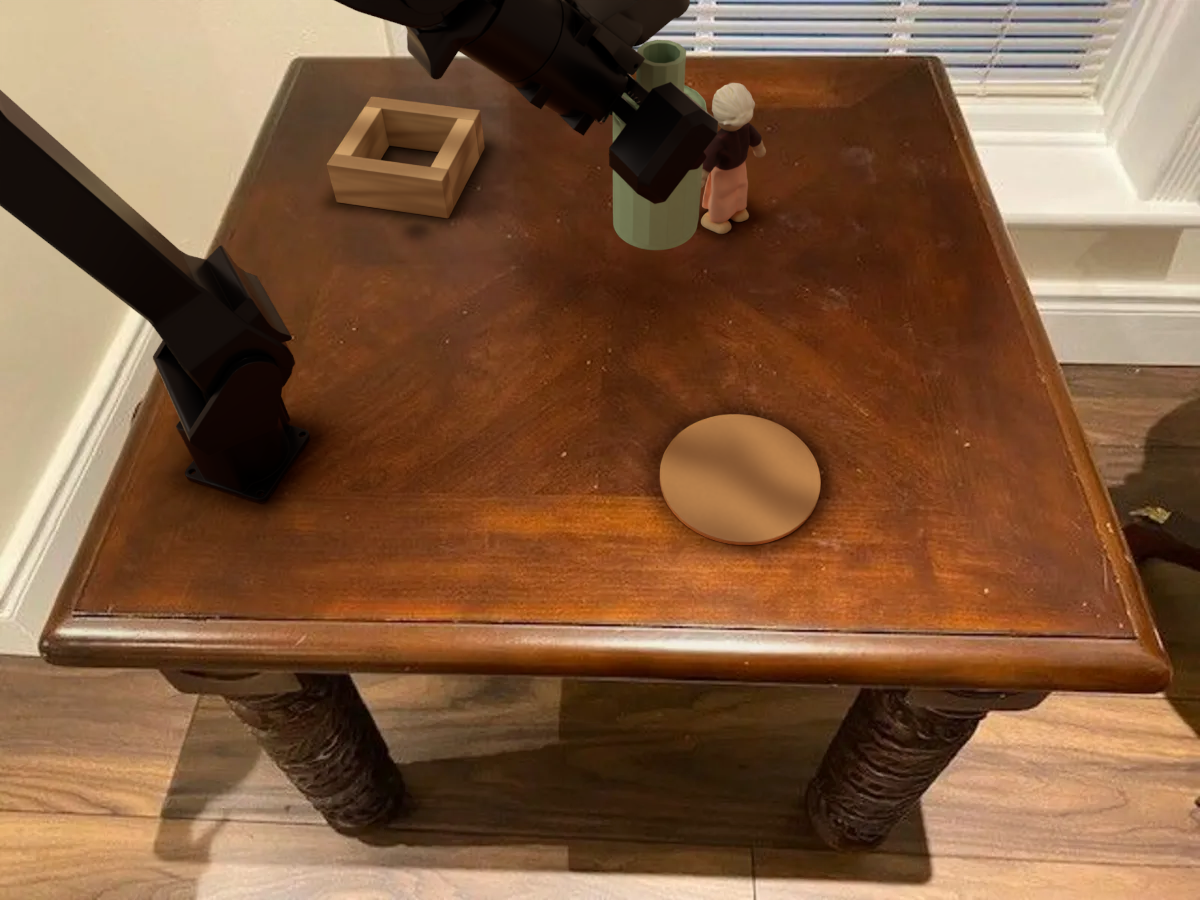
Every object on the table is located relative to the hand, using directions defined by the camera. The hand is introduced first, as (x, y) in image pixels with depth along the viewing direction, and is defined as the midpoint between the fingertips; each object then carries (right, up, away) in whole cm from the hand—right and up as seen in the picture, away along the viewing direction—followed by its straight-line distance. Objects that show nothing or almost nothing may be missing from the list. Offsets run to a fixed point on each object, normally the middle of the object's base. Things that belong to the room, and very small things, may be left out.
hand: (674, 137), depth 73 cm
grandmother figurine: (+5, -3, +15) cm, 16 cm away
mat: (+4, -24, -2) cm, 25 cm away
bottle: (-1, -5, +5) cm, 7 cm away
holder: (-22, +3, +20) cm, 30 cm away
